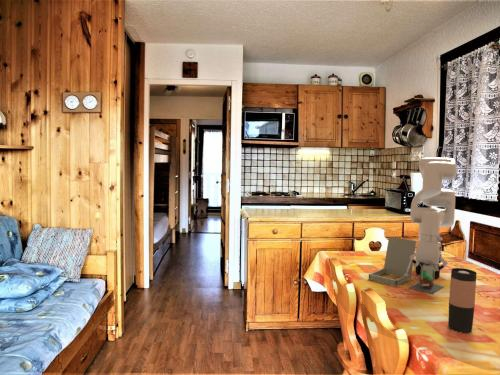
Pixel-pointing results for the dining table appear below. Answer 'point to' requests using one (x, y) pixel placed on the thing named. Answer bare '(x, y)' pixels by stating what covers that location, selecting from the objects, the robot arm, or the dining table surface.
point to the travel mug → (462, 300)
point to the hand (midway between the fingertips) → (427, 276)
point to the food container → (427, 275)
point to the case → (396, 262)
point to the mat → (427, 290)
